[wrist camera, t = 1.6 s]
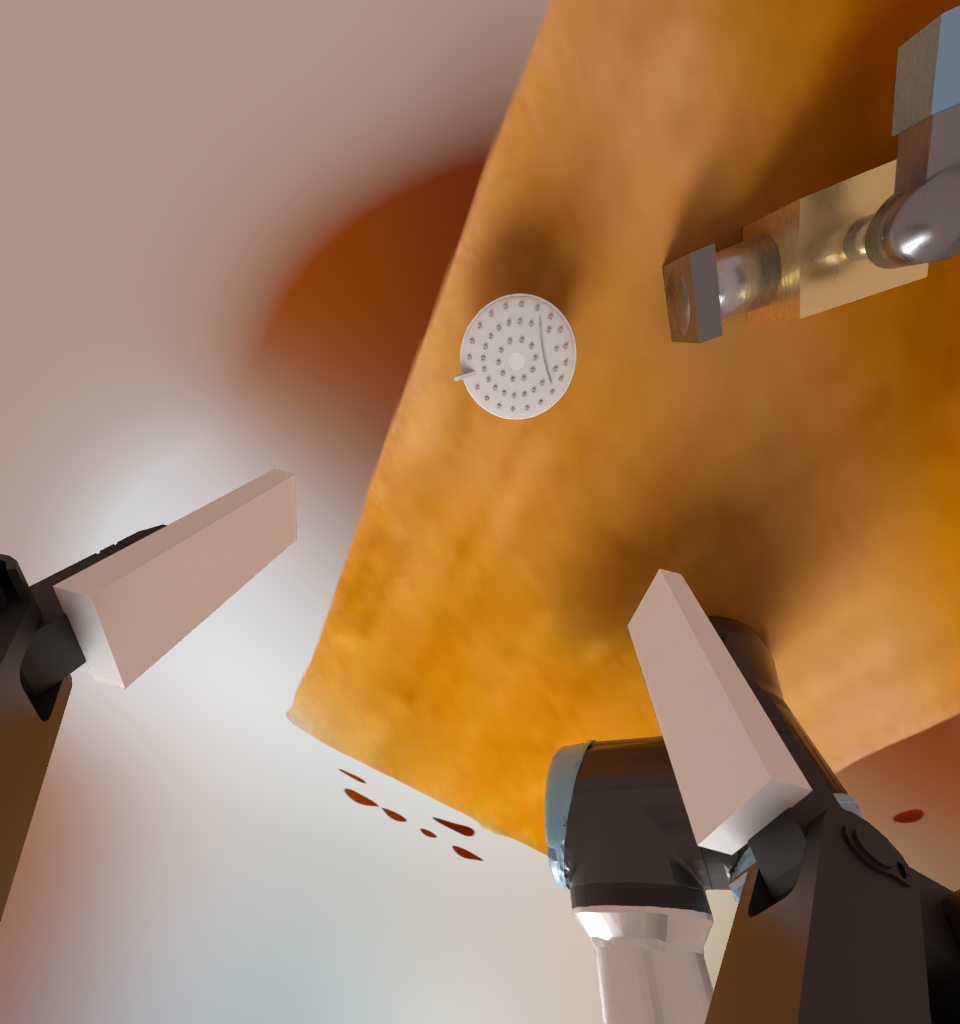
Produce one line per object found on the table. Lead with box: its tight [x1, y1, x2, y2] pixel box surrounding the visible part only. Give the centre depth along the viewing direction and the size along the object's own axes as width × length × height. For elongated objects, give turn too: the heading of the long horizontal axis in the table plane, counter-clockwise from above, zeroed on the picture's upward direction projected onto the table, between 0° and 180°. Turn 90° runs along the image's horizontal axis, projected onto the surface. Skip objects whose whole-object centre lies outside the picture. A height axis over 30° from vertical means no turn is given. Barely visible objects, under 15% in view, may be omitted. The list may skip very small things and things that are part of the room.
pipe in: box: [662, 234, 781, 343], centre depth 28 cm, size 6×6×6 cm
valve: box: [742, 159, 929, 322], centre depth 25 cm, size 7×7×10 cm
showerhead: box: [454, 293, 577, 419], centre depth 32 cm, size 9×7×10 cm
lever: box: [865, 5, 960, 269], centre depth 18 cm, size 10×4×2 cm, turn 21°
